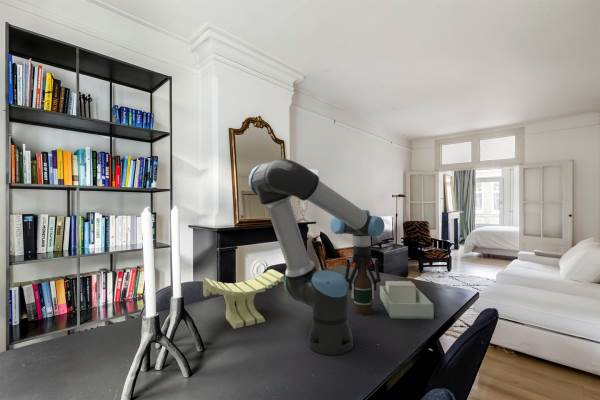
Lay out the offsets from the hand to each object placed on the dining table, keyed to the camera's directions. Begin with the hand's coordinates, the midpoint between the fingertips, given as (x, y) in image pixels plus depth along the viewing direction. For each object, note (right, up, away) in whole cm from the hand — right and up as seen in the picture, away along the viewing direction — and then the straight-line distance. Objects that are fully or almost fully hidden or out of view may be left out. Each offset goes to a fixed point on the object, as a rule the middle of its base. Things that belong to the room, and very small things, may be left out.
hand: (362, 297), depth 127 cm
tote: (+20, -6, +5) cm, 21 cm away
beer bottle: (0, -6, 0) cm, 6 cm away
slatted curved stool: (-51, -7, -5) cm, 51 cm away
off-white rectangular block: (+20, -5, +12) cm, 24 cm away
